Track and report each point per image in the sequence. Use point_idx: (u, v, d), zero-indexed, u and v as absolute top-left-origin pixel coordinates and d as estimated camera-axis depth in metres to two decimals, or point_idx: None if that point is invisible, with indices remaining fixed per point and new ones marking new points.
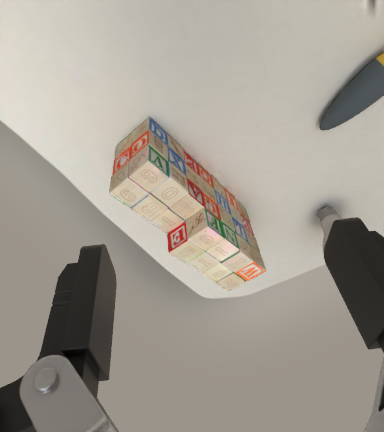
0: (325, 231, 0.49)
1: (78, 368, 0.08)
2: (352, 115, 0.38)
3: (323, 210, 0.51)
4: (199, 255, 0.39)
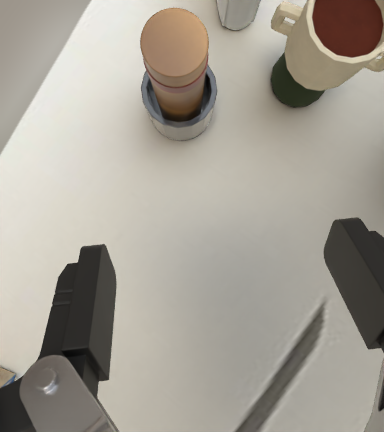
0: None
1: (78, 368, 0.08)
2: None
3: None
4: None
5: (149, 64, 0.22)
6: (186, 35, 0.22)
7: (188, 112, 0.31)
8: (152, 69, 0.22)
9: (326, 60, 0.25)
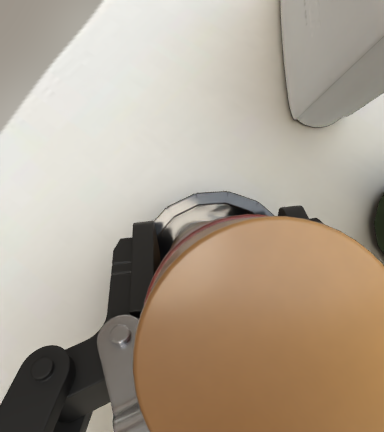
0: None
1: None
2: None
3: None
4: None
5: None
6: (332, 339, 0.05)
7: None
8: None
9: None
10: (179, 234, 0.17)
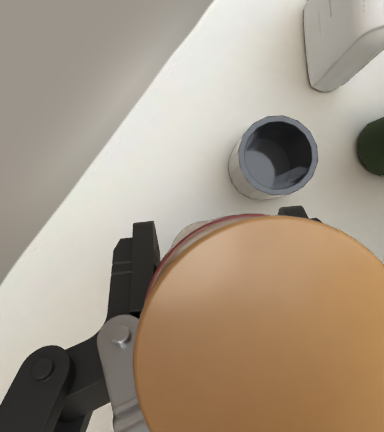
0: None
1: None
2: None
3: None
4: None
5: None
6: (332, 338, 0.05)
7: None
8: None
9: None
10: (179, 234, 0.17)
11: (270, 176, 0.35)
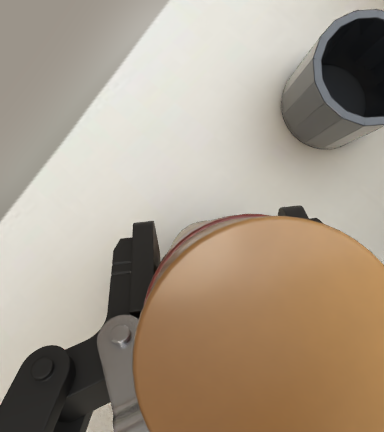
0: None
1: None
2: None
3: None
4: None
5: None
6: (332, 339, 0.05)
7: None
8: None
9: None
10: (179, 234, 0.17)
11: None
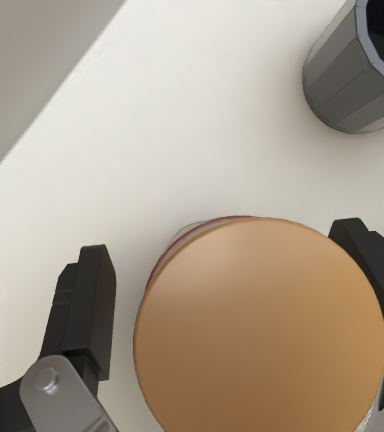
0: None
1: (78, 368, 0.08)
2: None
3: None
4: None
5: (160, 421, 0.06)
6: (309, 325, 0.06)
7: None
8: None
9: None
10: None
11: None
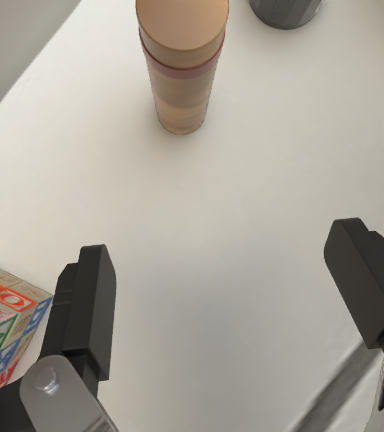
0: None
1: (78, 368, 0.08)
2: None
3: None
4: None
5: (145, 30, 0.16)
6: None
7: (190, 112, 0.25)
8: (149, 38, 0.16)
9: None
10: None
11: None
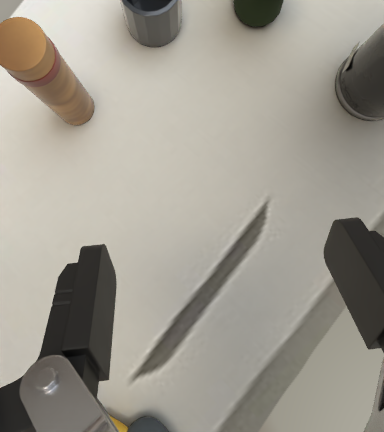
0: None
1: (78, 368, 0.08)
2: None
3: None
4: None
5: None
6: (28, 39, 0.27)
7: (65, 108, 0.36)
8: None
9: None
10: None
11: None
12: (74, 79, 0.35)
